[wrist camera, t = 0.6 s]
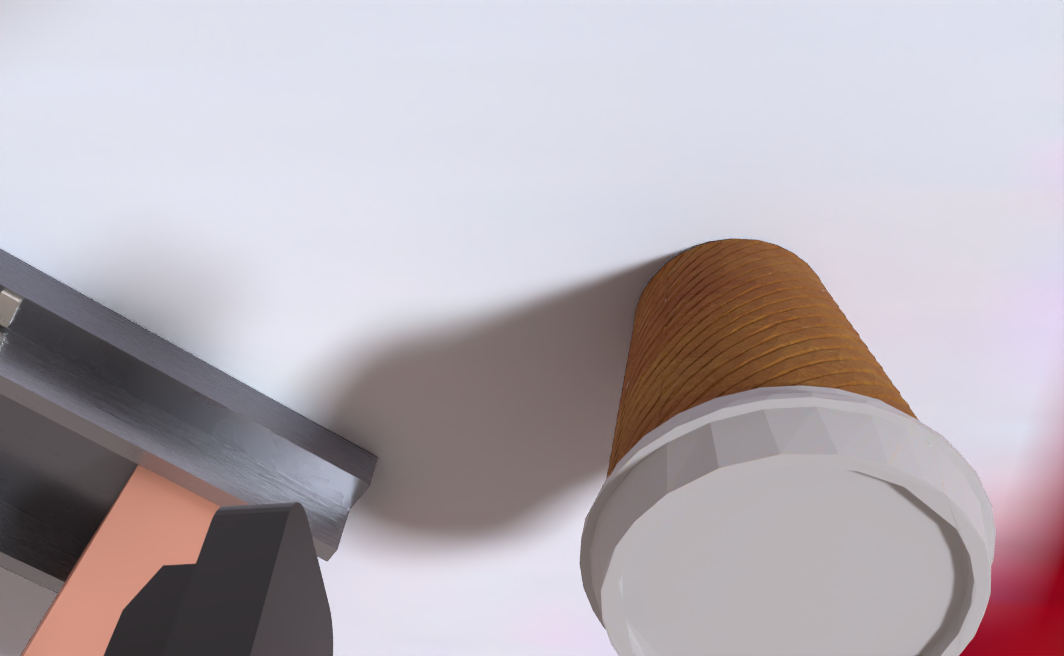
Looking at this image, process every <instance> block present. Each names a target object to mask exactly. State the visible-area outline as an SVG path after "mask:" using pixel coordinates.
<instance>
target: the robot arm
mask: <svg viewBox="0 0 1064 656" xmlns="http://www.w3.org/2000/svg"><path fill="white" fill-rule="evenodd" d="M103 656H333V629H332V619H331V612H330V608H329V603H328V599H327V595H326V591H325V587H324V583H323V579H322V575H321V571H320V567H319V563H318V559H317V554H316V550H315V546H314V542H313V538H312V534H311V530H310V526H309V522H308V518H307V515H306V512H305V509H304V507H303V506H302V504H301V503H299V502H290V503H272V504H254V505H236V506H222V507H220V508H219V509H218V510H217V511H216V512H215V514H214V516H213V518H212V520H211V523H210V526H209V528H208V531H207V534H206V537H205V540H204V542H203V545H202V548H201V551H200V553H199V556H198V559H197V562H196V564H179V565H163V566H162V567H161V568H160V569H159V570H158V572H157V573H156V574H155V575H154V576H153V577H152V578H151V579H150V580H149V582H148V583H147V584H146V585H145V586H144V587H143V588H142V589H141V590H140V591H139V593H138V594H137V595H136V596H135V597H134V598H133V599H132V600H131V601H130V602H129V604H128V605H127V606H126V607H125V608H124V609H123V610H122V613H121V615H120V618H119V620H118V622H117V625H116V627H115V629H114V632H113V634H112V636H111V639H110V641H109V644H108V646H107V648H106V651H105V653H104V655H103Z"/></svg>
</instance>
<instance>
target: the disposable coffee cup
mask: <svg viewBox="0 0 1064 656" xmlns="http://www.w3.org/2000/svg"><path fill="white" fill-rule="evenodd" d="M995 535H996V530H995V523H994V517H993V511H992V505H991V503H990V501H989V499H988V496H987V494H986V492H985V490H984V488H983V486H982V483H981V481H980V479H979V477H978V475H977V473H976V472H975V470H974V469H973V468H972V467H971V466H970V464H969V463H968V462H967V461H966V460H965V459H964V458H963V456H962V455H961V454H960V453H959V452H958V451H957V450H956V449H955V448H954V447H953V446H952V445H951V444H950V443H949V442H948V441H947V440H946V439H945V438H944V437H943V436H942V435H940V434H939V433H937V432H936V431H934V430H932V429H931V428H929V427H928V426H926V425H925V424H923V423H921V422H920V421H919V420H918V419H917V417H916V416H915V415H914V413H913V412H912V410H911V409H910V407H909V405H908V404H907V403H906V401H905V400H904V399H903V398H902V397H901V395H900V392H899V391H898V390H897V389H896V387H895V386H894V385H893V384H892V382H891V380H890V379H889V378H888V376H887V375H886V373H885V372H884V371H883V368H882V367H881V366H880V364H879V363H878V362H877V361H876V359H875V357H874V356H873V355H872V354H871V352H870V351H869V350H868V347H867V346H866V344H865V343H864V342H863V341H862V340H861V339H860V337H859V334H858V333H857V332H856V331H855V329H854V328H853V326H852V325H851V323H850V322H849V321H848V320H847V319H846V316H845V315H844V313H843V312H842V311H841V310H840V309H839V306H838V305H837V304H836V302H835V301H834V300H833V298H832V297H831V295H830V294H829V293H828V291H827V290H826V288H825V287H824V285H823V284H822V283H821V281H820V279H819V277H818V276H817V275H816V273H815V272H814V271H813V270H812V269H811V267H810V266H809V265H808V264H807V263H806V262H804V261H803V260H802V259H800V258H799V257H798V256H797V255H795V254H794V253H792V252H790V251H788V250H786V249H784V248H782V247H780V246H778V245H775V244H771V243H767V242H763V241H760V240H749V239H728V240H721V241H713V242H709V243H706V244H702V245H699V246H697V247H694V248H692V249H690V250H688V251H686V252H684V253H682V254H680V255H678V256H677V257H675V258H674V259H672V260H671V261H669V262H668V263H666V264H665V265H664V266H663V267H662V269H661V270H660V271H659V272H658V273H657V274H656V275H655V276H654V277H653V278H652V279H651V280H650V281H649V283H648V285H647V286H646V288H645V289H644V291H643V292H642V294H641V297H640V300H639V302H638V305H637V308H636V311H635V319H634V326H633V332H632V338H631V343H630V349H629V354H628V361H627V365H626V371H625V376H624V383H623V388H622V394H621V399H620V404H619V411H618V415H617V423H616V427H615V434H614V440H613V445H612V452H611V456H610V463H609V469H608V473H607V479H606V481H605V483H604V484H603V486H602V488H601V490H600V492H599V494H598V496H597V498H596V500H595V502H594V503H593V505H592V507H591V509H590V511H589V513H588V515H587V517H586V519H585V523H584V528H583V533H582V538H581V553H580V568H581V575H582V581H583V587H584V590H585V592H586V595H587V597H588V599H589V602H590V604H591V607H592V609H593V611H594V613H595V614H596V616H597V618H598V619H599V621H600V622H601V624H602V626H603V627H604V628H605V629H606V631H607V634H608V636H609V639H610V642H611V644H612V646H613V648H614V649H615V651H616V652H617V654H618V655H619V656H959V655H960V654H961V652H962V651H963V650H964V648H965V647H966V646H967V645H968V643H969V642H970V641H971V640H972V638H973V637H974V636H975V633H976V631H977V629H978V627H979V624H980V622H981V620H982V617H983V615H984V613H985V609H986V606H987V603H988V600H989V597H990V594H991V565H992V562H993V559H994V547H995Z"/></svg>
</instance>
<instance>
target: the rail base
mask: <svg viewBox="0 0 1064 656" xmlns="http://www.w3.org/2000/svg"><path fill="white" fill-rule="evenodd" d="M377 458H378V457H376V456H374V455H372V454H370V453H369V452H367V451H365V450H363V449H361V448H359V447H358V446H356V445H354V444H352V443H350V442H349V441H347V440H345V439H343V438H341V437H340V436H338V435H336V434H334V433H332V432H331V431H329V430H327V429H325V428H323V427H321V426H320V425H318V424H316V423H314V422H312V421H311V420H309V419H307V418H305V417H303V416H302V415H300V414H298V413H296V412H294V411H293V410H291V409H289V408H287V407H285V406H283V405H282V404H280V403H278V402H276V401H274V400H273V399H271V398H269V397H267V396H265V395H264V394H262V393H260V392H258V391H256V390H255V389H253V388H251V387H249V386H247V385H245V384H244V383H242V382H240V381H238V380H236V379H235V378H233V377H231V376H229V375H227V374H226V373H224V372H222V371H220V370H218V369H217V368H215V367H213V366H211V365H209V364H207V363H206V362H204V361H202V360H200V359H198V358H197V357H195V356H193V355H191V354H189V353H188V352H186V351H184V350H182V349H180V348H179V347H177V346H175V345H173V344H171V343H169V342H168V341H166V340H164V339H162V338H160V337H159V336H157V335H155V334H153V333H151V332H150V331H148V330H146V329H144V328H142V327H141V326H139V325H137V324H135V323H133V322H131V321H130V320H128V319H126V318H124V317H122V316H121V315H119V314H117V313H115V312H113V311H112V310H110V309H108V308H106V307H104V306H103V305H101V304H99V303H97V302H95V301H93V300H92V299H90V298H88V297H86V296H84V295H83V294H81V293H79V292H77V291H75V290H74V289H72V288H70V287H68V286H66V285H65V284H63V283H61V282H59V281H57V280H55V279H54V278H52V277H50V276H48V275H46V274H45V273H43V272H41V271H39V270H37V269H36V268H34V267H32V266H30V265H28V264H27V263H25V262H23V261H21V260H19V259H17V258H16V257H14V256H12V255H10V254H8V253H7V252H5V251H3V250H1V249H0V567H3V568H5V569H7V570H9V571H11V572H13V573H15V574H18V575H20V576H22V577H24V578H26V579H28V580H31V581H33V582H35V583H37V584H39V585H41V586H43V587H46V588H48V589H50V590H52V591H54V592H56V593H58V592H59V591H60V589H61V587H62V586H63V584H64V583H65V581H66V579H67V578H68V576H69V574H70V573H71V571H72V569H73V568H74V566H75V564H76V563H77V561H78V559H79V558H80V556H81V554H82V553H83V551H84V550H85V548H86V546H87V545H88V543H89V541H90V540H91V538H92V537H93V535H94V534H95V532H96V530H97V529H98V527H99V526H100V524H101V522H102V521H103V519H104V518H105V516H106V515H107V513H108V511H109V510H110V508H111V507H112V505H113V503H114V502H115V500H116V499H117V497H118V496H119V494H120V492H121V491H122V489H123V488H124V486H125V484H126V483H127V481H128V480H129V478H130V476H131V475H132V473H133V472H134V470H135V469H136V467H137V465H140V466H142V467H144V468H146V469H148V470H150V471H152V472H154V473H156V474H158V475H160V476H162V477H164V478H166V479H168V480H169V481H171V482H173V483H175V484H177V485H179V486H181V487H183V488H185V489H187V490H189V491H191V492H193V493H195V494H197V495H199V496H201V497H203V498H205V499H207V500H208V501H210V502H212V503H214V504H216V505H218V506H220V507H222V506H236V505H254V504H272V503H290V502H299V503H301V504H302V506H303V507H304V509H305V512H306V515H307V518H308V522H309V526H310V530H311V534H312V538H313V542H314V546H315V550H316V554H317V556H318V557H320V558H321V559H323V560H325V561H328V560H329V559H330V558H331V557H332V555H333V554H334V553H335V552H336V551H337V549H338V546H339V542H340V539H341V536H342V533H343V529H344V526H345V523H346V520H347V516H348V513H349V510H350V508H351V507H352V506H353V505H354V504H355V502H356V501H357V500H358V499H359V497H360V496H361V495H362V494H363V492H364V491H365V490H366V489H367V488H368V486H369V485H370V482H371V479H372V475H373V472H374V468H375V465H376V461H377Z"/></svg>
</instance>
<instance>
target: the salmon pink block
mask: <svg viewBox="0 0 1064 656" xmlns="http://www.w3.org/2000/svg"><path fill="white" fill-rule="evenodd" d="M219 508H220V506H218V505H216V504H214V503H212V502H210V501H208V500H207V499H205V498H203V497H201V496H199V495H197V494H195V493H193V492H191V491H189V490H187V489H185V488H183V487H181V486H179V485H177V484H175V483H173V482H171V481H169V480H168V479H166V478H164V477H162V476H160V475H158V474H156V473H154V472H152V471H150V470H148V469H146V468H144V467H142V466H140V465H137V467H136V469H135V470H134V472H133V473H132V475H131V476H130V478H129V480H128V481H127V483H126V484H125V486H124V488H123V489H122V491H121V492H120V494H119V496H118V497H117V499H116V500H115V502H114V503H113V505H112V507H111V508H110V510H109V511H108V513H107V515H106V516H105V518H104V519H103V521H102V522H101V524H100V526H99V527H98V529H97V530H96V532H95V534H94V535H93V537H92V538H91V540H90V541H89V543H88V545H87V546H86V548H85V550H84V551H83V553H82V554H81V556H80V558H79V559H78V561H77V563H76V564H75V566H74V568H73V569H72V571H71V573H70V574H69V576H68V578H67V579H66V581H65V583H64V584H63V586H62V587H61V589H60V591H59V592H58V594H57V596H56V597H55V599H54V601H53V602H52V604H51V606H50V607H49V609H48V611H47V612H46V614H45V616H44V617H43V619H42V621H41V622H40V624H39V625H38V627H37V629H36V630H35V632H34V634H33V635H32V637H31V639H30V640H29V642H28V644H27V645H26V647H25V649H24V650H23V652H22V654H21V655H20V656H103V655H104V653H105V651H106V648H107V646H108V644H109V641H110V639H111V636H112V634H113V632H114V629H115V627H116V625H117V622H118V620H119V618H120V615H121V613H122V610H123V609H124V608H125V607H126V606H127V605H128V604H129V602H130V601H131V600H132V599H133V598H134V597H135V596H136V595H137V594H138V593H139V591H140V590H141V589H142V588H143V587H144V586H145V585H146V584H147V583H148V582H149V580H150V579H151V578H152V577H153V576H154V575H155V574H156V573H157V572H158V570H159V569H160V568H161V567H162V566H163V565H179V564H196V562H197V559H198V556H199V553H200V551H201V548H202V545H203V542H204V540H205V537H206V534H207V531H208V528H209V526H210V523H211V520H212V518H213V516H214V514H215V512H216V511H217V510H218V509H219Z"/></svg>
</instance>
